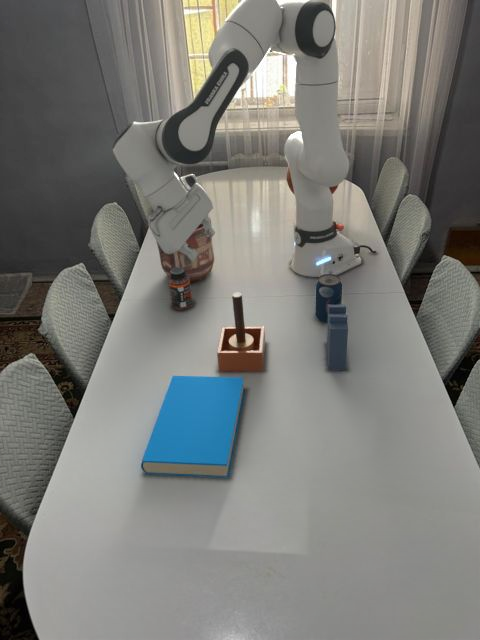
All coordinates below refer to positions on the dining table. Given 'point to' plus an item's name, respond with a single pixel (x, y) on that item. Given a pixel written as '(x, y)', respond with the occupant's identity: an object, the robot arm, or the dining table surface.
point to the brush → (240, 328)
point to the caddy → (241, 358)
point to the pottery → (192, 268)
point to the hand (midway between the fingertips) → (203, 246)
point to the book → (196, 427)
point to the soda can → (327, 295)
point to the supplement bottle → (180, 289)
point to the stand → (337, 337)
